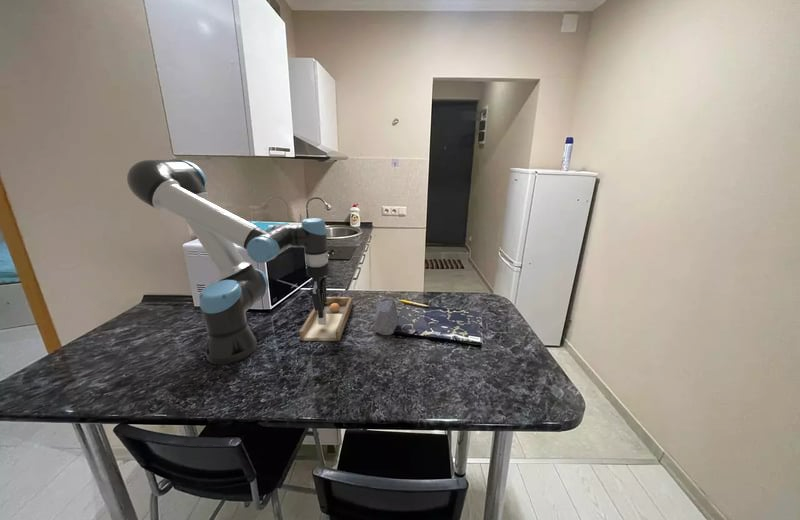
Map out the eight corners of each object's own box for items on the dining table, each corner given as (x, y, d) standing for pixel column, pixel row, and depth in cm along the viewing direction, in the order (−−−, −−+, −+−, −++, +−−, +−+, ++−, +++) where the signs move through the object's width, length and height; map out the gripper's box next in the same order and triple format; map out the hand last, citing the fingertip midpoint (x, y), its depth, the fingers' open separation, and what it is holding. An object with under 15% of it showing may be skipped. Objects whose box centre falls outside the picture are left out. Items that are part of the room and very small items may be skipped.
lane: (300, 340, 108) (299, 331, 107) (321, 304, 134) (320, 297, 133) (339, 340, 108) (338, 331, 107) (352, 304, 134) (352, 297, 133)
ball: (328, 305, 124) (331, 301, 128) (328, 314, 125) (331, 309, 129) (338, 305, 124) (340, 301, 128) (338, 314, 125) (340, 310, 129)
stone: (379, 324, 121) (403, 319, 119) (375, 342, 113) (400, 337, 110) (368, 301, 116) (392, 295, 114) (363, 318, 107) (389, 312, 105)
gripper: (323, 270, 99) (328, 333, 106) (332, 257, 111) (336, 315, 119) (300, 270, 99) (307, 333, 106) (311, 257, 111) (317, 315, 119)
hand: (322, 323), depth 113 cm, fingers closed
